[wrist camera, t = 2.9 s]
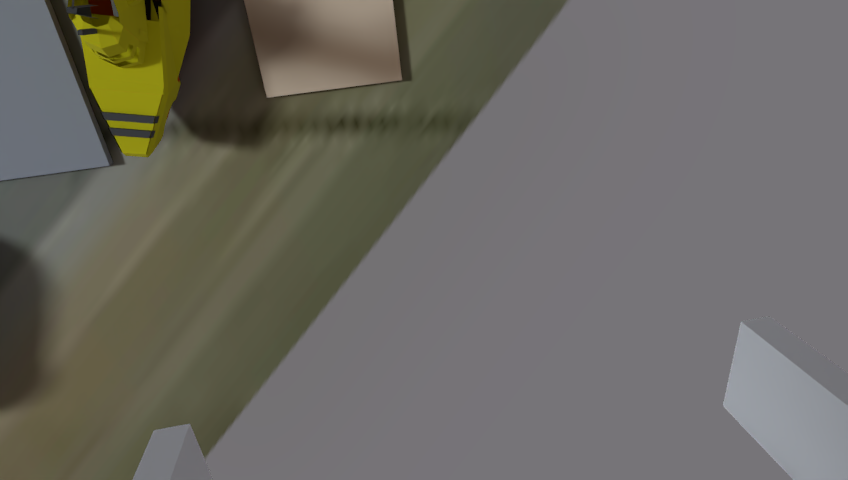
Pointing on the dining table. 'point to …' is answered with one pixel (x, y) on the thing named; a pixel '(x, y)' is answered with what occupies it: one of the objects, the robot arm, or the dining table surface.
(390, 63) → the pad two
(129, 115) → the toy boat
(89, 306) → the dining table surface
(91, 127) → the pad one
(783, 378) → the robot arm
